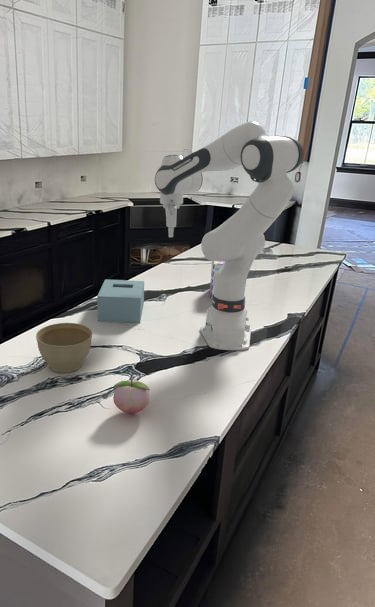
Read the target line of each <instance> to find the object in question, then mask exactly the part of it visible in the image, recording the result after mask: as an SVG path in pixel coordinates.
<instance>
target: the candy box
mask: <svg viewBox="0 0 375 607" xmlns="http://www.w3.org/2000/svg"><path fill="white" fill-rule="evenodd" d="M224 263H225V261H223V262H220V261H211V269H210V270H211V272H210V283H209V284H210V287H209V293H210V299H211V300H212V295H213V294H214V284H215V275H216V273H217V271H218V270H219V269H220V268H221V267H222V266H223V265H224Z"/></svg>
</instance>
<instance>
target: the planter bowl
mask: <svg viewBox="0 0 375 607" xmlns="http://www.w3.org/2000/svg"><path fill="white" fill-rule="evenodd" d="M35 338H36V339H35V340H36V341H37V342H36V343H37V348H38V351H39V355H40V356H41V357H42V359H43V360H44V361H45V363H46V364H48V366H49V368H50V369H49V370H51V371H53V372H56V373H62V374H63V373H64V374H65V373H66V374H67V373H72V372H75V371H77V370H79V369H81V367H82V364H83V362H84V361H85V359H86V358H87V356H88V354H89V352H90V351H91V347H92V346H91V345H92V338H93V331H92V329H90V328H89V326H86V325H84V324H81V323H75V322H58V323H53V324H49V325H46V326H44V327H41V328H40V329H39V330H38V331H37V332H36V335H35Z"/></svg>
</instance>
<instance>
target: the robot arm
mask: <svg viewBox="0 0 375 607" xmlns="http://www.w3.org/2000/svg"><path fill="white" fill-rule="evenodd" d="M303 147H304V146H303V145H302V144H301V143H300V141H299V140H297V139H295V138H293V137H290V136H281V135H271V136H270V135H269V136H268V135H267V133H266V130H265V129H264V127H263V126H262V125H261V124H260V123H258V122H256V121H247V122H245V123H242V124H239V125H237V126H235V127H233V128H232V129H231V130H229V131H227V132H226V133H224V134H223V135H221V136H220V137H219V138H216V139H215V140H213V141H212V142H211V143H209V144H207V145H205V146H203V147H202V148H200V149H198V150H195V151H194V152H191V153H190V154H188V155H187V156H184V157H183V156H182V155H180V154H168V155H165V156H164V157H163V158H162V160H161V164H160V165H161V166H160V167H159V168H158V169H157V171H156V173H155V175H154V184H155V187H156V188H157V190H158V191H159V192H160V193H159V195H160V196H159V203H160V204H161V205H162V206H163V209H164V210H165V217H166V218H165V221H166V223H165V224H166V227H168V228H167V230H168V238H174V232H175V228H176V227H177V209H180V205H181V206H182V205H183V204H184V194H188V193H191V194H192V193H195V192H198V191H199V190H200V189H201V187H202V184H203V180H204V179H203V173H205V172H223V171H225V172H226V171H230V170H234V169H235V168H236V169H237V168H238V167H240V166H242V168H243V169H244V171H245V172H246V173H247V174H248V175H249V177H250V179H251V181H253V182H255V183H258V184H257V186H256V187H255V189H254V190H253V191H252V192H251V194H250V195H249V197H248V198H247V199H246V200H245V202H244V203H243V204H242V206H240V208H239V209H238V210H237V211H236V212H235V213H234V214H233V215H232V216H231V215H230V217H229V218H227V219H226V220H225V221H223V223H222V224H220V225H219V226H218V227H216V228H214V229H213V230H210V231H209V232H207V233H205V234H204V236H203V237H202V240H201V244H200V245H201V251H202V254H203V256H204V257H205V259H207V260H209V261H211V262H212V261H220V262H223V261H225V263H224V265H223V266H222V267H221V268H220V269H219V270H218V271H217V273H216V275H215V284H214V294H213V295H212V299H211V306H210V307H208V308H207V309H206V316H205V317H206V318H205V324H204V325H203V326H201V327H200V329H199V330H200V333H201V335H202V336H203V338H204V340H205V341H206V343H207V344H208V346H209V348H211V349H215V350H223V351H245V350H249V349H250V346H251V345H250V343H251V335H252V334H251V333H252V331H251V330H252V329H251V324H249V323H247V322H249V318H250V317H248V310H246V308H245V306H246V297H245V292H246V285H247V280H248V275H249V272H250V270H251V267H252V266H253V263H254V261H255V259H256V258H257V257H258V256H259V254H260V253H261V252H262V251H263V250H264V248H265V245H266V238H265V235H264V233H265V232H266V231H267V230H268V229H269V228H270V227H271V226H272V224H273V223H274V222H275V221H276V220H277V219H278V217H280V215H281V214H282V212H283V211H284V210H285V208H286V207H287V205H288V204H289V202H290V201H291V199H292V198H293V195H294V192H295V188H294V187H295V185H294V184H293V181H292V180H291V179H290V178H289V177H288V173H290V172H293V171H295V170H296V169H298V168H299V166H301V164H302V162H303V161H304V160H303V159H304V155H305V154H304V153H305V152H304V148H303Z"/></svg>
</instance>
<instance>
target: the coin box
mask: <svg viewBox="0 0 375 607" xmlns="http://www.w3.org/2000/svg"><path fill="white" fill-rule="evenodd" d="M96 299H97V302H96V303H97V304H96V305H97V322H110V323H111V322H112V323H133V324H134V323H136V324H137V323H138V324H141V320H142V315H143V309H144V305H145V281H144V280H125V279H104V282H103V283H102V285H101V288H100V290H99V292H98V294H97V298H96Z"/></svg>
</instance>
